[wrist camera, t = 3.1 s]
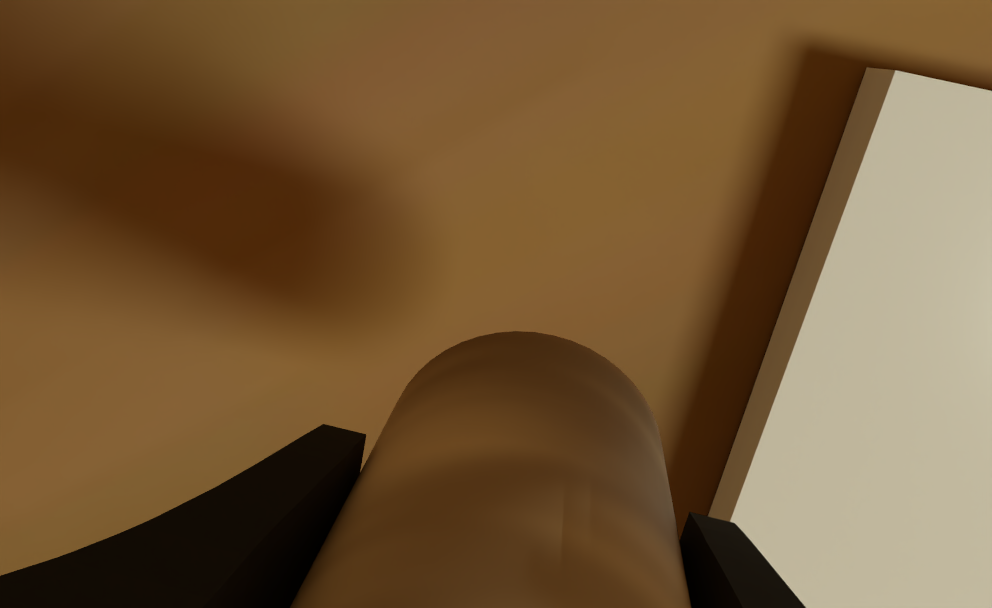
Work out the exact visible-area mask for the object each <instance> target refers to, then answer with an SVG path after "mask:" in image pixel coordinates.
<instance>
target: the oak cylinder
mask: <svg viewBox="0 0 992 608" xmlns="http://www.w3.org/2000/svg"><path fill="white" fill-rule="evenodd" d="M290 608H691V603H690V597H689V592H688V586H687V581H686V575H685V570H684V564H683V559H682V553H681V548H680V542H679V537H678V531H677V526H676V520H675V515H674V509H673V504H672V498H671V493H670V487H669V482H668V476H667V471H666V465H665V460H664V454H663V449H662V443H661V439H660V434H659V429H658V426H657V424H656V421H655V418H654V416H653V413H652V411H651V409H650V407H649V406H648V404H647V402H646V400H645V398H644V397H643V395H642V394H641V393H640V391H639V390H638V389H637V387H636V386H635V385H634V383H633V382H632V381H631V380H630V379H629V378H628V377H627V376H626V375H625V374H624V373H623V372H622V371H621V370H620V369H619V368H617V367H616V366H615V365H614V364H612V363H611V362H610V361H609V360H607V359H606V358H604V357H603V356H601V355H599V354H598V353H596V352H594V351H593V350H591V349H589V348H587V347H585V346H582V345H580V344H578V343H575V342H573V341H570V340H567V339H564V338H560V337H557V336H554V335H548V334H542V333H536V332H518V331H514V332H501V333H494V334H489V335H484V336H479V337H476V338H473V339H470V340H467V341H464V342H461V343H459V344H457V345H455V346H453V347H451V348H449V349H447V350H445V351H444V352H442V353H441V354H439V355H438V356H436V357H435V358H433V359H432V360H431V361H429V362H428V363H427V364H426V365H425V366H424V367H423V368H422V369H421V370H420V371H418V373H417V374H416V375H415V376H414V377H413V379H412V380H411V381H410V382H409V383H408V385H407V386H406V388H405V390H404V391H403V393H402V395H401V396H400V398H399V400H398V402H397V404H396V406H395V407H394V409H393V411H392V413H391V415H390V417H389V419H388V421H387V423H386V425H385V427H384V428H383V430H382V432H381V434H380V436H379V438H378V440H377V442H376V444H375V446H374V448H373V450H372V451H371V453H370V455H369V457H368V459H367V461H366V463H365V465H364V467H363V469H362V471H361V472H360V474H359V476H358V478H357V480H356V482H355V484H354V486H353V488H352V490H351V492H350V493H349V495H348V497H347V499H346V501H345V503H344V505H343V507H342V509H341V511H340V513H339V514H338V516H337V518H336V520H335V522H334V524H333V526H332V528H331V530H330V532H329V534H328V536H327V537H326V539H325V541H324V543H323V545H322V547H321V549H320V551H319V553H318V555H317V557H316V558H315V560H314V562H313V564H312V566H311V568H310V570H309V572H308V574H307V576H306V578H305V579H304V581H303V583H302V585H301V587H300V589H299V591H298V593H297V595H296V597H295V599H294V600H293V602H292V604H291V606H290Z"/></svg>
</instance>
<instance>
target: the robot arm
mask: <svg viewBox="0 0 992 608" xmlns="http://www.w3.org/2000/svg"><path fill="white" fill-rule="evenodd" d="M365 439H366V434H362V433H358V432H354V431H350V430H346V429H342V428H337V427H333V426H329V425H325V424H323V425H321V426H319V427H317V428H316V429H314V430H312V431H310V432H309V433H307V434H305V435H304V436H302V437H300V438H299V439H297V440H295V441H294V442H292V443H290V444H289V445H287V446H285V447H284V448H282V449H280V450H279V451H277V452H275V453H274V454H272V455H270V456H269V457H267V458H265V459H264V460H262V461H260V462H259V463H257V464H255V465H254V466H252V467H250V468H248V469H247V470H245V471H243V472H241V473H240V474H238V475H236V476H234V477H233V478H231V479H229V480H227V481H226V482H224V483H222V484H220V485H219V486H217V487H215V488H213V489H211V490H209V491H207V492H205V493H203V494H201V495H199V496H197V497H195V498H193V499H191V500H189V501H187V502H185V503H183V504H181V505H179V506H177V507H175V508H173V509H171V510H169V511H167V512H165V513H163V514H161V515H159V516H158V517H155V518H153V519H151V520H149V521H147V522H144V523H142V524H140V525H138V526H135V527H133V528H131V529H128V530H126V531H124V532H121V533H119V534H117V535H114V536H112V537H109V538H107V539H104V540H101V541H99V542H96V543H94V544H91V545H89V546H86V547H84V548H81V549H79V550H76V551H74V552H71V553H68V554H65V555H63V556H60V557H57V558H54V559H51V560H48V561H45V562H42V563H39V564H36V565H32V566H29V567H26V568H23V569H20V570H17V571H14V572H11V573H8V574H5V575H1V576H0V608H290V606H291V604H292V602H293V600H294V599H295V597H296V595H297V593H298V591H299V589H300V587H301V585H302V583H303V581H304V579H305V578H306V576H307V574H308V572H309V570H310V568H311V566H312V564H313V562H314V560H315V558H316V557H317V555H318V553H319V551H320V549H321V547H322V545H323V543H324V541H325V539H326V537H327V536H328V534H329V532H330V530H331V528H332V526H333V524H334V522H335V520H336V518H337V516H338V514H339V513H340V511H341V509H342V507H343V505H344V503H345V501H346V499H347V497H348V495H349V493H350V492H351V490H352V488H353V486H354V484H355V482H356V480H357V478H358V476H359V474H360V469H361V463H362V457H363V451H364V445H365ZM679 542H680V548H681V553H682V559H683V564H684V570H685V575H686V581H687V586H688V592H689V597H690V603H691V608H806V607H805V606H804V605H803V603H802V602H801V601H800V600H799V599H798V597H797V596H796V595H795V594H794V593H793V591H792V590H791V589H790V588H789V586H788V585H787V584H786V583H785V582H784V580H783V579H782V578H781V577H780V575H779V574H778V573H777V572H776V571H775V569H774V568H773V567H772V566H771V565H770V563H769V562H768V561H767V560H766V558H765V557H764V556H763V555H762V554H761V552H760V551H759V550H758V549H757V548H756V546H755V545H754V544H753V543H752V542H751V540H750V539H749V538H748V537H747V536H746V535H745V533H744V532H743V531H742V530H741V529H740V528H739V527H738V526H737V525H736V524H735V523H733V522H729V521H725V520H721V519H716V518H712V517H708V516H704V515H700V514H696V513H691V512H689V515H688V518H687V521H686V524H685V527H684V530H683V533H682V536H681V539H680V541H679Z"/></svg>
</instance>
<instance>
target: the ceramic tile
mask: <svg viewBox="0 0 992 608" xmlns="http://www.w3.org/2000/svg"><path fill="white" fill-rule="evenodd" d="M708 517H712V518H716V519H721V520H725V521H729V522H733V523H735V524H736V525H737V526H738V527H739V528H740V529H741V530H742V531H743V532H744V533H745V535H746V536H747V537H748V538H749V539H750V540H751V542H752V543H753V544H754V545H755V546H756V548H757V549H758V550H759V551H760V552H761V554H762V555H763V556H764V557H765V558H766V560H767V561H768V562H769V563H770V565H771V566H772V567H773V568H774V569H775V571H776V572H777V573H778V574H779V575H780V577H781V578H782V579H783V580H784V582H785V583H786V584H787V585H788V586H789V588H790V589H791V590H792V591H793V593H794V594H795V595H796V596H797V597H798V599H799V600H800V601H801V602H802V603H803V605H804V606H805V607H806V608H992V91H989V90H985V89H980V88H976V87H971V86H966V85H962V84H957V83H952V82H948V81H943V80H938V79H934V78H929V77H925V76H920V75H915V74H911V73H906V72H901V71H897V70H888V69H878V68H868V67H867V68H866V71H865V74H864V76H863V79H862V82H861V85H860V88H859V91H858V93H857V96H856V99H855V102H854V105H853V108H852V110H851V113H850V116H849V119H848V122H847V125H846V127H845V130H844V133H843V136H842V139H841V141H840V144H839V147H838V150H837V153H836V156H835V158H834V161H833V164H832V167H831V170H830V173H829V175H828V178H827V181H826V184H825V187H824V189H823V192H822V195H821V198H820V201H819V204H818V206H817V209H816V212H815V215H814V218H813V221H812V223H811V226H810V229H809V232H808V235H807V237H806V240H805V243H804V246H803V249H802V252H801V254H800V257H799V260H798V263H797V266H796V269H795V271H794V274H793V277H792V280H791V283H790V286H789V288H788V291H787V294H786V297H785V300H784V302H783V305H782V308H781V311H780V314H779V317H778V319H777V322H776V325H775V328H774V331H773V334H772V336H771V339H770V342H769V345H768V348H767V350H766V353H765V356H764V359H763V362H762V365H761V367H760V370H759V373H758V376H757V379H756V382H755V384H754V387H753V390H752V393H751V396H750V398H749V401H748V404H747V407H746V410H745V413H744V415H743V418H742V421H741V424H740V427H739V430H738V432H737V435H736V438H735V441H734V444H733V446H732V449H731V452H730V455H729V458H728V461H727V463H726V466H725V469H724V472H723V475H722V478H721V480H720V483H719V486H718V489H717V492H716V495H715V497H714V500H713V503H712V506H711V509H710V511H709V514H708Z"/></svg>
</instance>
